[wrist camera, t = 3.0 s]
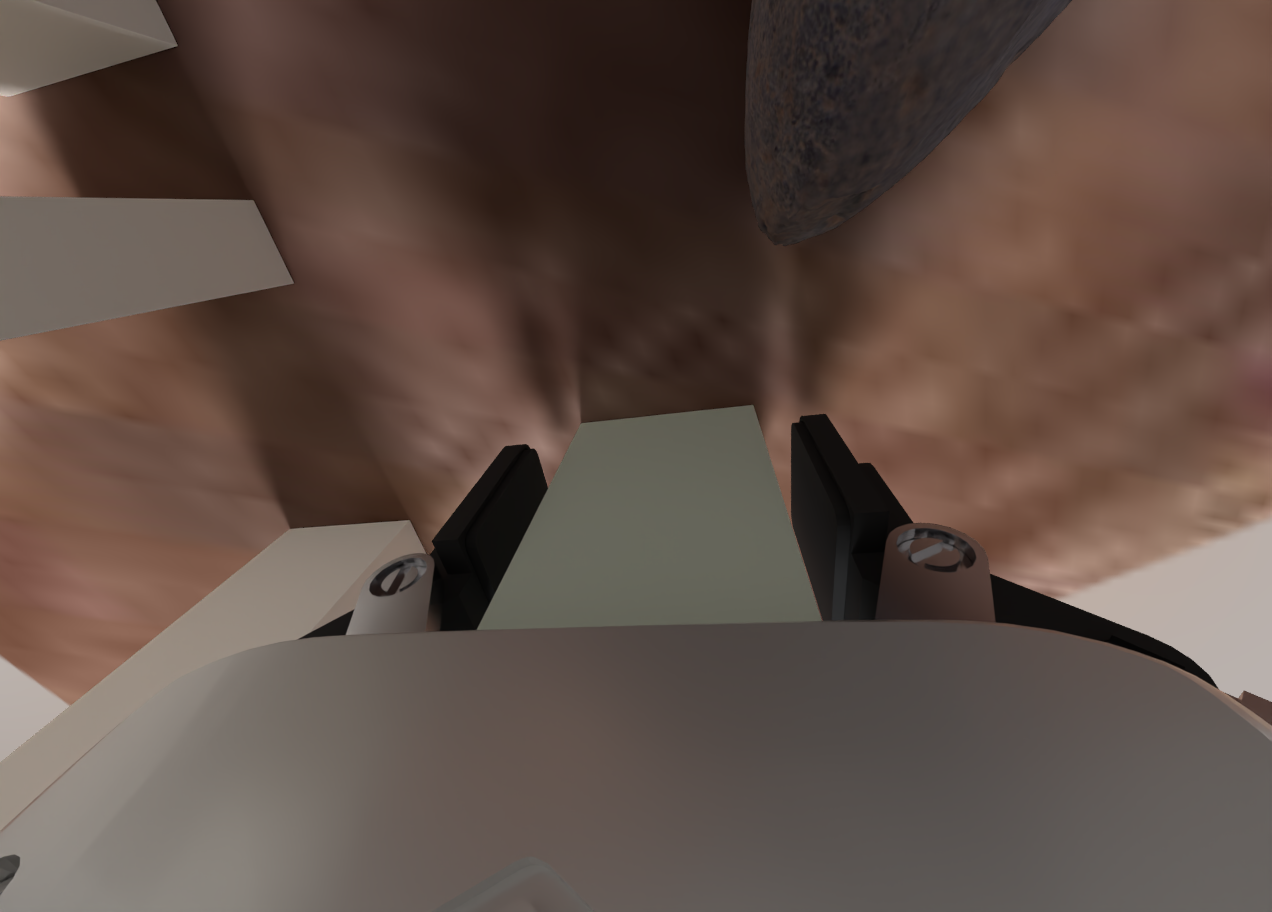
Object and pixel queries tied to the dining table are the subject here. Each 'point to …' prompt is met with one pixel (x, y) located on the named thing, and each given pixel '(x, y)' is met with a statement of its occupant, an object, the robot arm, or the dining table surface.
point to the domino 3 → (215, 638)
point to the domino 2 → (126, 258)
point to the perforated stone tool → (864, 95)
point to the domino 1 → (74, 38)
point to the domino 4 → (658, 531)
